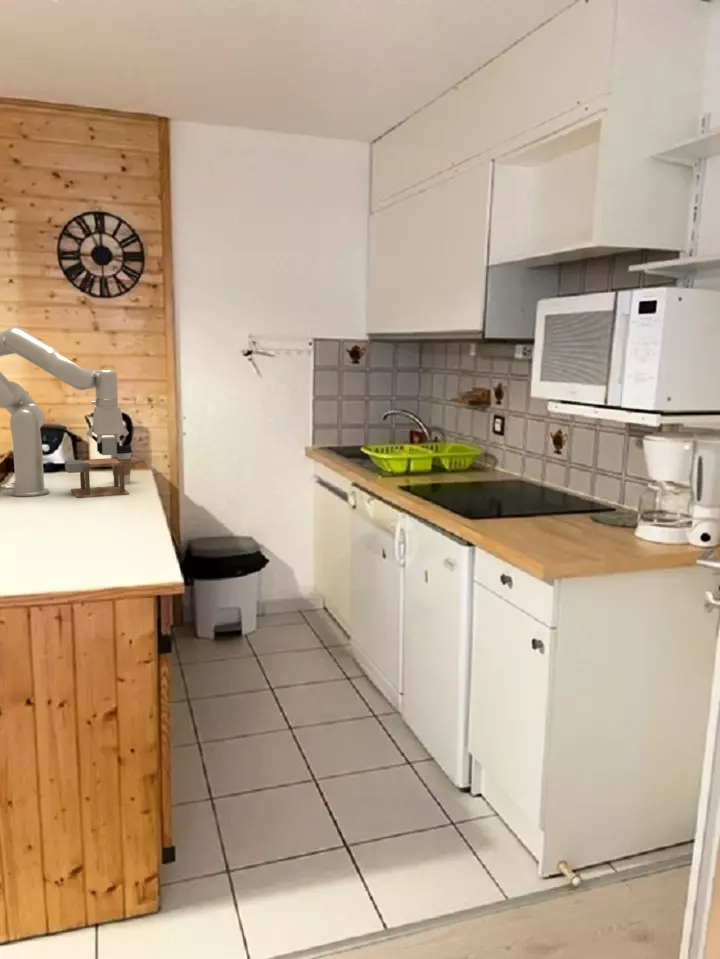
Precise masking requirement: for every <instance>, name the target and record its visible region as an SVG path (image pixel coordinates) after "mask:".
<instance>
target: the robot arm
mask: <svg viewBox="0 0 720 959" xmlns="http://www.w3.org/2000/svg"><path fill="white" fill-rule="evenodd" d="M12 354H13V355H14V354H16V355H17V356H19V357H21V358H23V359H24V360H27V361H28V362H30V363H31V364H34V365H35V366H36V367H38V368H40V369H41V370H43V371H45V372H46V373H49V374H51V375H52V376H53V377H55V378H57V379H58V380H60V381H62V382H63V383H65V384H67V385H68V386H70V387H72V388H74V389H76V390H77V391H85V390H91V389H95V399H94V400H91V405H94V406H95V407H94V408H93V416H92V426H91V427H90V429H89V430H88V431H87V432H86V435H87V436H88V437H90V438H91V439H92V440H93V441H95V442H96V452H98V453H99V455H102V443H101V438H102V437H103V436H113V437H115V438H116V440H117V453H118V451H120V446H121V445H120V443H121V441H123V439H125V437H126V436H128V435H129V433H130V432H129V431H128V429H127V428H126V427H124V423H123V415H122V409H121V407H119V398H118V394H119V393H118V373H117V371H116V370H114V369H90V368H82V367H81V366H79V365H78V364H76V363H75V362H73V361H71V360H69V359H68V358H66V357H64V356H63V355H62V354H61V352H59V351H58V350H57V348H55V347H53V346H52V345H49V344H48V343H46V342H45V341H43V340H41V339H39V338H38V337H36V336H34V335H33V334H31V332H29V331H28V330H27V329H25V328H22V327H16V326H14V327H10V328H8V329H6V330H2V331H0V357H1V356H7V355H12ZM0 409H6V411H8V412H9V414H10V418H9V419H10V420H9V425H10V426H9V428H10V433H11V439H12V449H13V450H12V451H13V452H12V453H13V464H14V467H13V468H14V480H13V482H11V483H9V484H8V483H3V484H1V490H3V491H4V490H6V491H8V490H9V491H10V490H11V491H10V492H11V493H10V494H11V495H12V496H14V497H37V496H43V495H47V494H49V493H50V489H49V488H48V487H45V474H44V458H43V443H42V435H41V427H43V425H44V423H45V417H46V416H45V413H44V411H43V410H42V408H41V407H40V405H38V404H37V402H36V401H35V400H34V399H33V398H32V397H31V395H30V394H29V393H28V392H27V390H25V389H24V387H22V385H21V384H19V383H17V382H15V381H11V380H9V379H7V377H6V376H5V375H4V374H3V372H1V371H0ZM94 434H95V435H96V436H95V435H94Z"/></svg>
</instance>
